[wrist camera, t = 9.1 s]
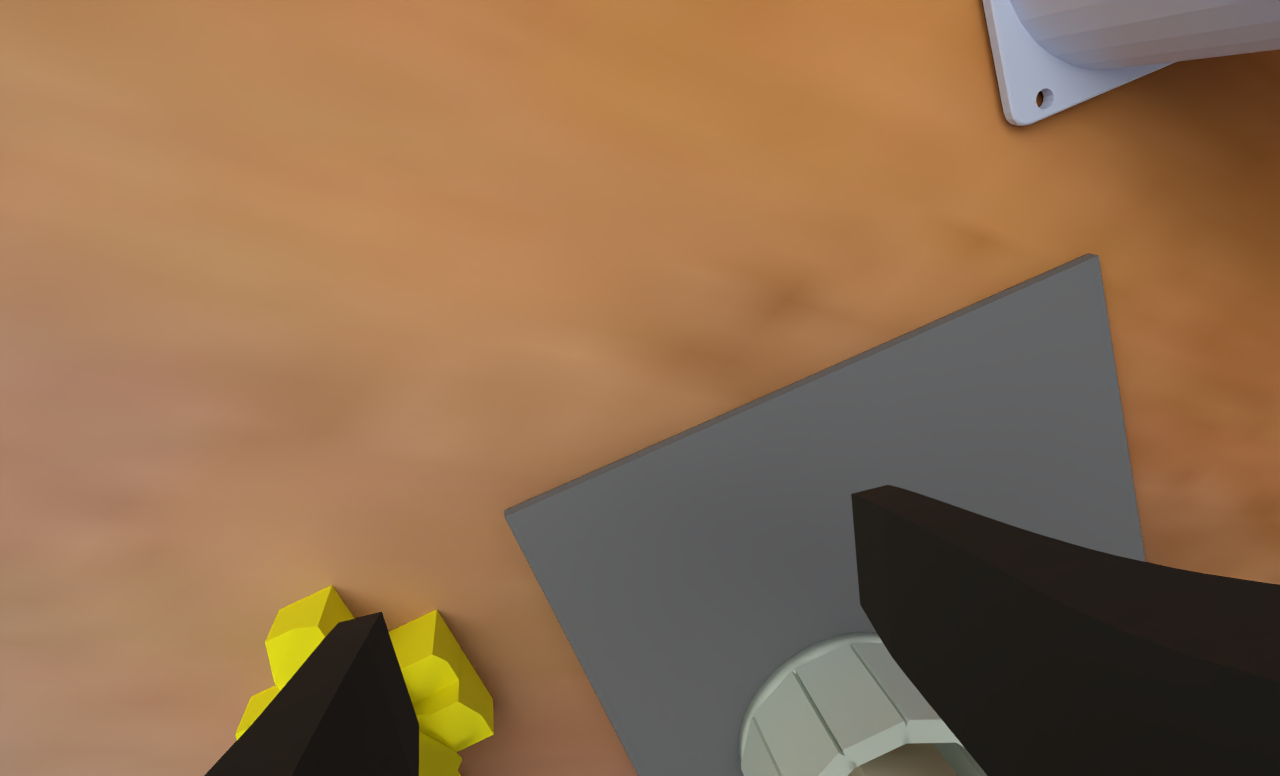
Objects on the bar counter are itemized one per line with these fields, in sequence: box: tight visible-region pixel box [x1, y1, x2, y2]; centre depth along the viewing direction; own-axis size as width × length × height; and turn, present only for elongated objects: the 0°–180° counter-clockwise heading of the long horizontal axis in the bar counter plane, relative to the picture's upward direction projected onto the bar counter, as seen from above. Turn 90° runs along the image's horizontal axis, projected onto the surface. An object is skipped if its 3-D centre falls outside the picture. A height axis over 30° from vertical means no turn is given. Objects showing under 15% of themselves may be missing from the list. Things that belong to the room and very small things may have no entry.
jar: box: [738, 632, 987, 776], centre depth 24 cm, size 8×8×4 cm
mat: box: [504, 254, 1146, 776], centre depth 25 cm, size 19×17×1 cm
